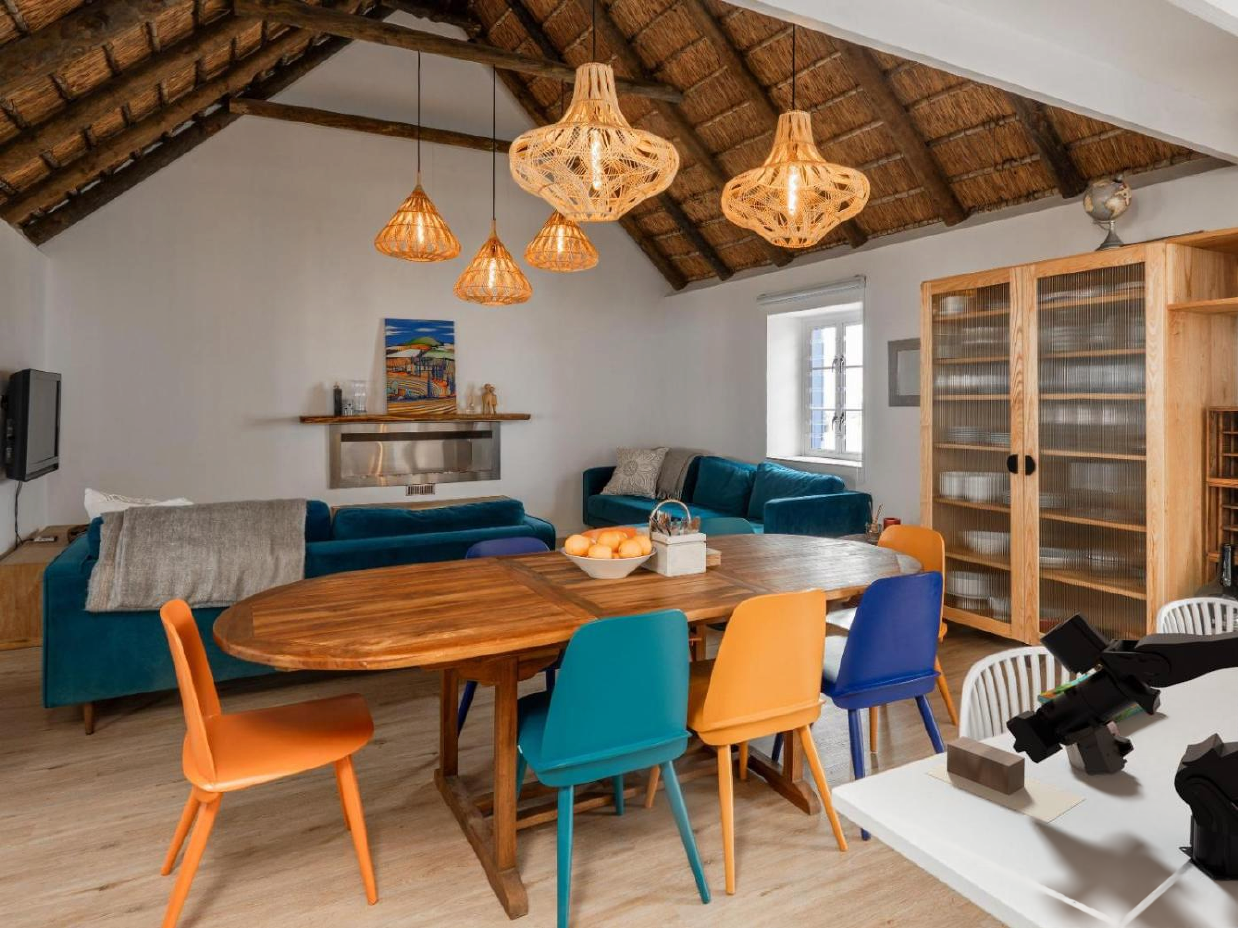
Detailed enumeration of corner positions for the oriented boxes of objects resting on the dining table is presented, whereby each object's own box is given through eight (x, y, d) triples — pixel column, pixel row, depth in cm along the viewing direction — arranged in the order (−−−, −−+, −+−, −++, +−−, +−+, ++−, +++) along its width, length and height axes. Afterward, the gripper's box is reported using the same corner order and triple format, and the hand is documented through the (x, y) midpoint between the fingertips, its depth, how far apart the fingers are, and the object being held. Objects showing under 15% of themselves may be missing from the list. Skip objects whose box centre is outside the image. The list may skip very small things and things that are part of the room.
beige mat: (1085, 802, 116) (1085, 798, 116) (1047, 827, 110) (1047, 822, 110) (963, 757, 131) (964, 753, 131) (924, 776, 125) (924, 772, 125)
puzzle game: (1156, 686, 150) (1103, 709, 139) (1156, 710, 150) (1102, 735, 139) (1092, 669, 160) (1037, 690, 149) (1091, 692, 160) (1037, 714, 149)
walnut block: (1024, 757, 120) (963, 736, 128) (1009, 766, 117) (947, 743, 125) (1024, 786, 120) (962, 763, 128) (1008, 795, 117) (946, 770, 125)
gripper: (1111, 773, 99) (1021, 822, 108) (1171, 735, 109) (1085, 782, 119) (1047, 694, 104) (967, 746, 114) (1111, 665, 115) (1033, 715, 125)
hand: (1016, 749), depth 118 cm, fingers closed
